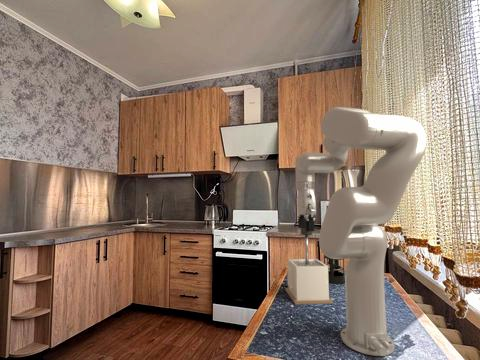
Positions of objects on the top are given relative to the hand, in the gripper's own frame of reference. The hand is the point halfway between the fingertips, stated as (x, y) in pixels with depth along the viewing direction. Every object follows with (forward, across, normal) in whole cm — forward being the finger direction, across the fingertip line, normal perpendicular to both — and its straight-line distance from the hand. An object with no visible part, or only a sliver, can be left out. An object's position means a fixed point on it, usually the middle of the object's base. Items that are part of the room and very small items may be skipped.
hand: (305, 229), depth 101 cm
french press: (+26, +17, -19) cm, 37 cm away
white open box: (+26, -1, 0) cm, 26 cm away
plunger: (+14, -1, 0) cm, 14 cm away
